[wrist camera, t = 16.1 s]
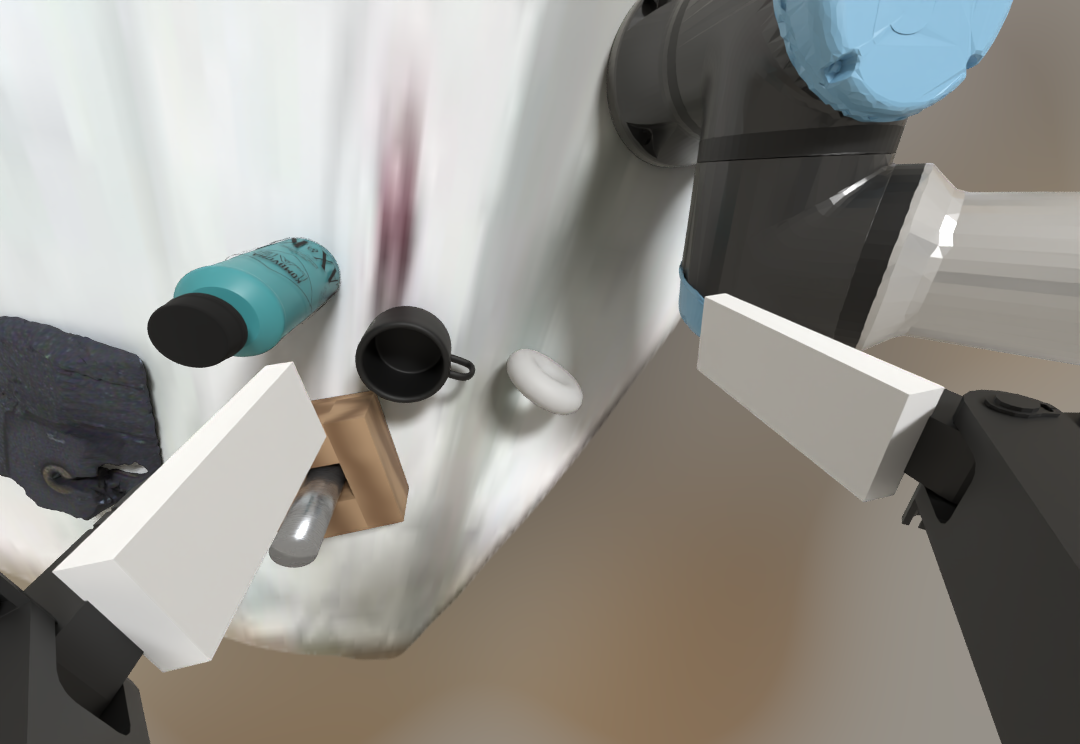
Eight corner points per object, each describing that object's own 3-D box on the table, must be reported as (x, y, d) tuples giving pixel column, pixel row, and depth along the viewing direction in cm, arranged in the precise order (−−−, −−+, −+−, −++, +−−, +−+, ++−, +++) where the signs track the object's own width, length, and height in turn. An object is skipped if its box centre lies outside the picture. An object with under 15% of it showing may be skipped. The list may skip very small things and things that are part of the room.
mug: (361, 361, 44) (345, 391, 38) (380, 288, 41) (366, 308, 35) (461, 388, 48) (462, 419, 42) (486, 324, 45) (490, 347, 39)
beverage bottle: (339, 307, 41) (249, 403, 23) (269, 284, 38) (111, 373, 21) (353, 248, 38) (265, 306, 21) (279, 221, 36) (111, 261, 19)
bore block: (375, 390, 46) (364, 417, 40) (408, 487, 53) (403, 521, 48) (250, 411, 44) (222, 442, 39) (303, 508, 51) (286, 546, 46)
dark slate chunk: (183, 352, 40) (151, 372, 36) (167, 502, 48) (139, 533, 44) (-19, 299, 35) (-83, 316, 31) (-1, 478, 43) (-51, 510, 38)
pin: (347, 442, 47) (308, 532, 35) (356, 467, 49) (323, 561, 36) (313, 448, 47) (261, 542, 34) (324, 474, 48) (279, 571, 36)
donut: (496, 355, 47) (505, 395, 38) (512, 332, 46) (524, 368, 37) (560, 389, 51) (581, 433, 42) (575, 369, 50) (600, 409, 41)
